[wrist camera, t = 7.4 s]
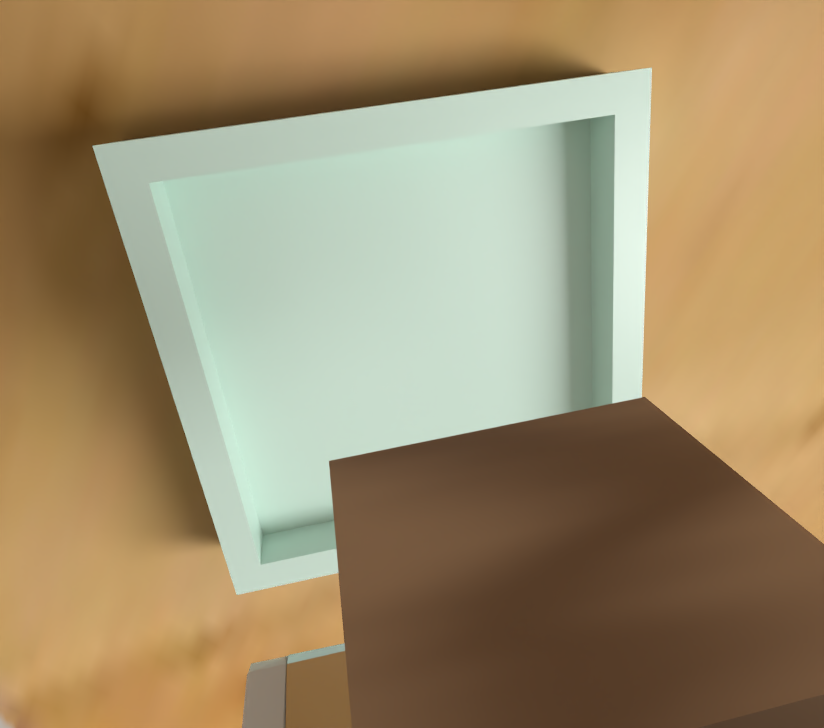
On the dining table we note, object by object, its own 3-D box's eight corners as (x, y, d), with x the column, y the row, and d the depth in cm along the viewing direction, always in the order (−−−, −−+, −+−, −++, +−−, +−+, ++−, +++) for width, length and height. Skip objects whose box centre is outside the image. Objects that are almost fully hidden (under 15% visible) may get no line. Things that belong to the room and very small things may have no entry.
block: (644, 397, 10) (960, 656, 5) (637, 629, 12) (858, 967, 7) (329, 461, 9) (360, 817, 4) (378, 693, 11) (436, 1103, 6)
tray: (607, 73, 18) (651, 67, 16) (605, 468, 24) (638, 507, 21) (121, 140, 16) (92, 145, 14) (243, 544, 22) (236, 595, 20)
